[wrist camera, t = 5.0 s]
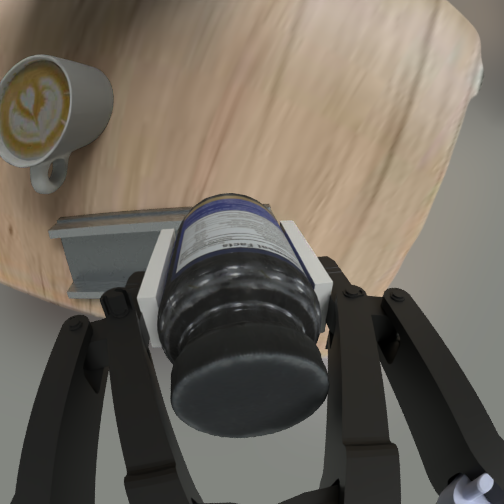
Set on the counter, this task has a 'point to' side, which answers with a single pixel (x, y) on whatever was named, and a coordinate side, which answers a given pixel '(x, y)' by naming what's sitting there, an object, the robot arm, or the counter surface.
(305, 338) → the pill bottle
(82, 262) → the rail
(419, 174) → the counter surface
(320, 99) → the counter surface
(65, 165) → the coffee mug
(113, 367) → the robot arm
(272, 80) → the counter surface
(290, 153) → the counter surface
